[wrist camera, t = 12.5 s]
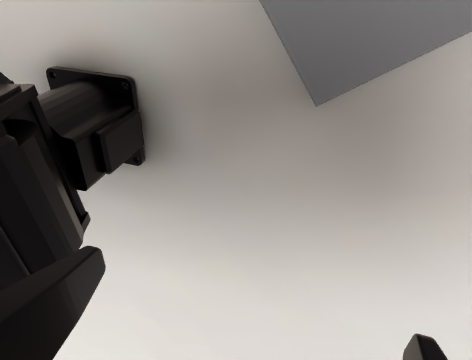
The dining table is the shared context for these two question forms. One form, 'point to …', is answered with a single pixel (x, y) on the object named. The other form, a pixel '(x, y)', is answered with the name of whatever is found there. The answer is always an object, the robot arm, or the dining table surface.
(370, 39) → the station board
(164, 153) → the dining table surface
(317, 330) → the dining table surface
